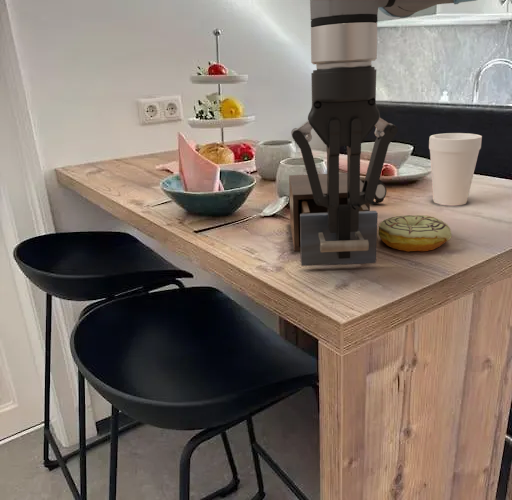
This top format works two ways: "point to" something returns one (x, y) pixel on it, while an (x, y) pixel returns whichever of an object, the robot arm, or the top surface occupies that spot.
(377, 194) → the smartwatch
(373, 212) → the drawer
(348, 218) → the robot arm
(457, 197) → the foam cup
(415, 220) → the decorated donut
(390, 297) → the top surface
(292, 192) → the cabinet
